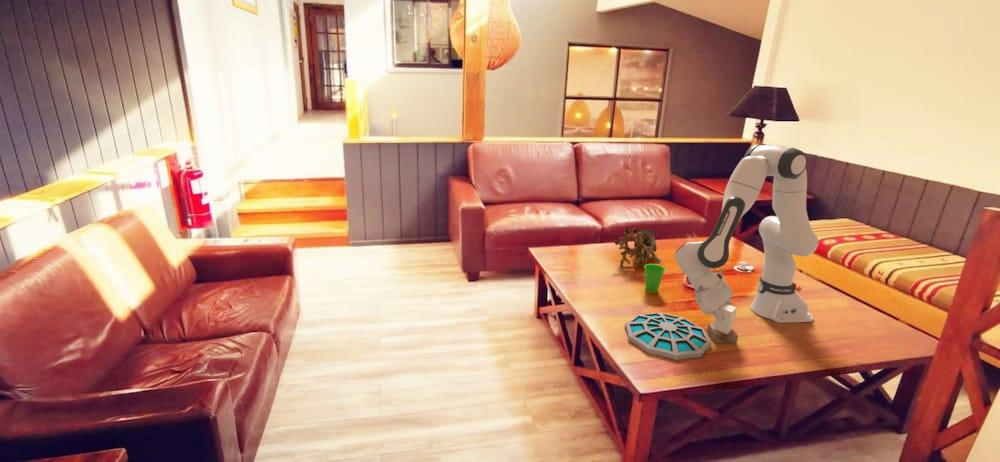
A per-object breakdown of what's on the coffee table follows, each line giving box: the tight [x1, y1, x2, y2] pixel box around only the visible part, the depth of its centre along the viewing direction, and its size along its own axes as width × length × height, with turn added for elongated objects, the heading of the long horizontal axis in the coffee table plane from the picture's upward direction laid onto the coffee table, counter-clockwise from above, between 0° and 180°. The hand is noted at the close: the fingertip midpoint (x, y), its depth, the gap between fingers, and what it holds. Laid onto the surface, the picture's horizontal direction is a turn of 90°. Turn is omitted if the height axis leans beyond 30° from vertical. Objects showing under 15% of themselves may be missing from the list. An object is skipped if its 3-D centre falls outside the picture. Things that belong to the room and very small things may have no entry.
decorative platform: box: [624, 312, 713, 361], centre depth 179 cm, size 31×29×5 cm
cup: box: [643, 263, 666, 294], centre depth 215 cm, size 9×9×11 cm
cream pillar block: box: [713, 303, 738, 334], centre depth 177 cm, size 5×5×9 cm
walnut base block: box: [706, 322, 739, 345], centre depth 179 cm, size 8×8×4 cm
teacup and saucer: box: [733, 260, 755, 273], centre depth 241 cm, size 9×8×4 cm
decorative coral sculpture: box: [614, 226, 662, 269], centre depth 247 cm, size 24×22×29 cm
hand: (727, 316), depth 176 cm, fingers open, 8 cm apart
